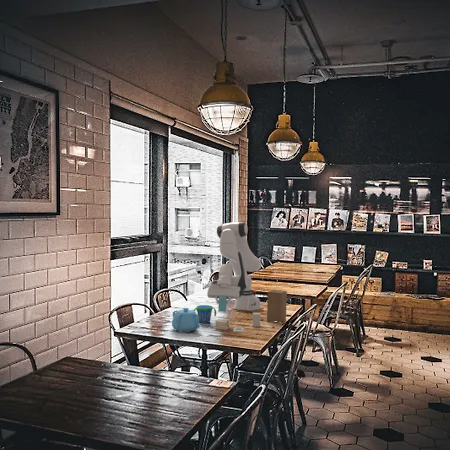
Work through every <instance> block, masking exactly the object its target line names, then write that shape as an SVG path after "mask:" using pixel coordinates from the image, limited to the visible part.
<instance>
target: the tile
mask: <svg viewBox="0 0 450 450" xmlns="http://www.w3.org/2000/svg"><path fill="white" fill-rule="evenodd" d="M244 330H245V327H233V330H232V332H234V333H235V332H236V333H237V332H240V333H244Z"/></svg>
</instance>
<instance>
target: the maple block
mask: <svg viewBox="0 0 450 450" xmlns="http://www.w3.org/2000/svg"><path fill="white" fill-rule="evenodd" d="M214 324H215V326H214V327H215V329H216V330H228V329H229V328H230V318H229V319H227V318H217V319H216V320H215V323H214Z"/></svg>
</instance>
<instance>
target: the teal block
mask: <svg viewBox="0 0 450 450" xmlns="http://www.w3.org/2000/svg"><path fill="white" fill-rule="evenodd" d="M218 300H219V304H218V307H217V308H218V313H219V312H220V313H221V312H223V313H226V312H227V304H226V300H228V299H227V296H219V298H218Z"/></svg>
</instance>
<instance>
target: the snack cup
mask: <svg viewBox="0 0 450 450" xmlns="http://www.w3.org/2000/svg"><path fill="white" fill-rule="evenodd" d="M213 309H214V310H213ZM193 310H194V311H195V312H196V314H198V315H199V324H200V323H201V324H209V323H210V322H211V317H212V312H213V311H214V314H213V316H214V317H216V316H217V310H216V308H215V307H213V306H212V305H208V304H207V305H206V304H201V305H197V306H196V307H195V308H193Z"/></svg>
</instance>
